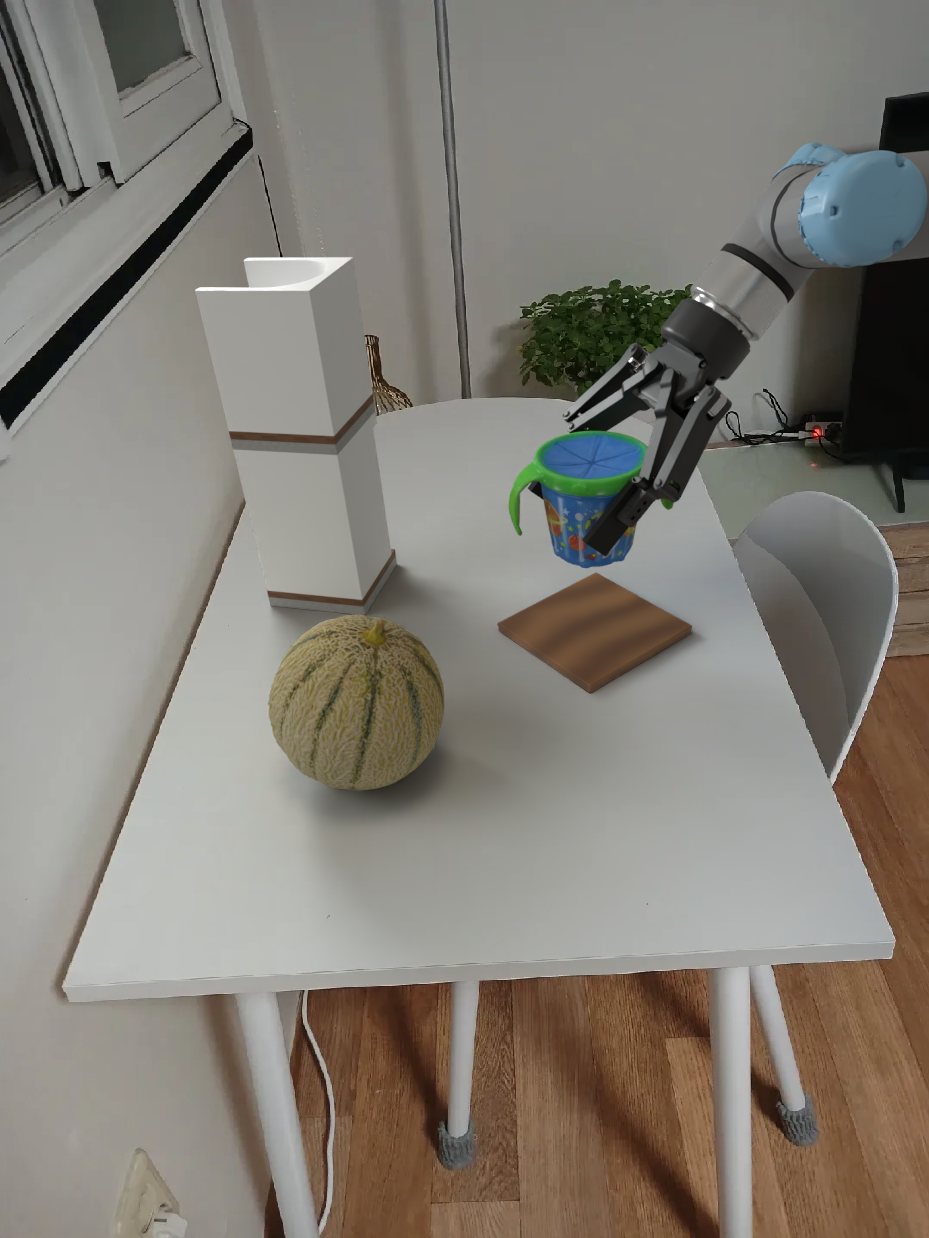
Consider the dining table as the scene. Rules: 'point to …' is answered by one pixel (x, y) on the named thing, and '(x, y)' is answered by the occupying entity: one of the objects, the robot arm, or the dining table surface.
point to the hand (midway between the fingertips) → (564, 521)
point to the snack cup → (582, 490)
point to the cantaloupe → (357, 702)
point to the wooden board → (594, 631)
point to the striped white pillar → (303, 429)
